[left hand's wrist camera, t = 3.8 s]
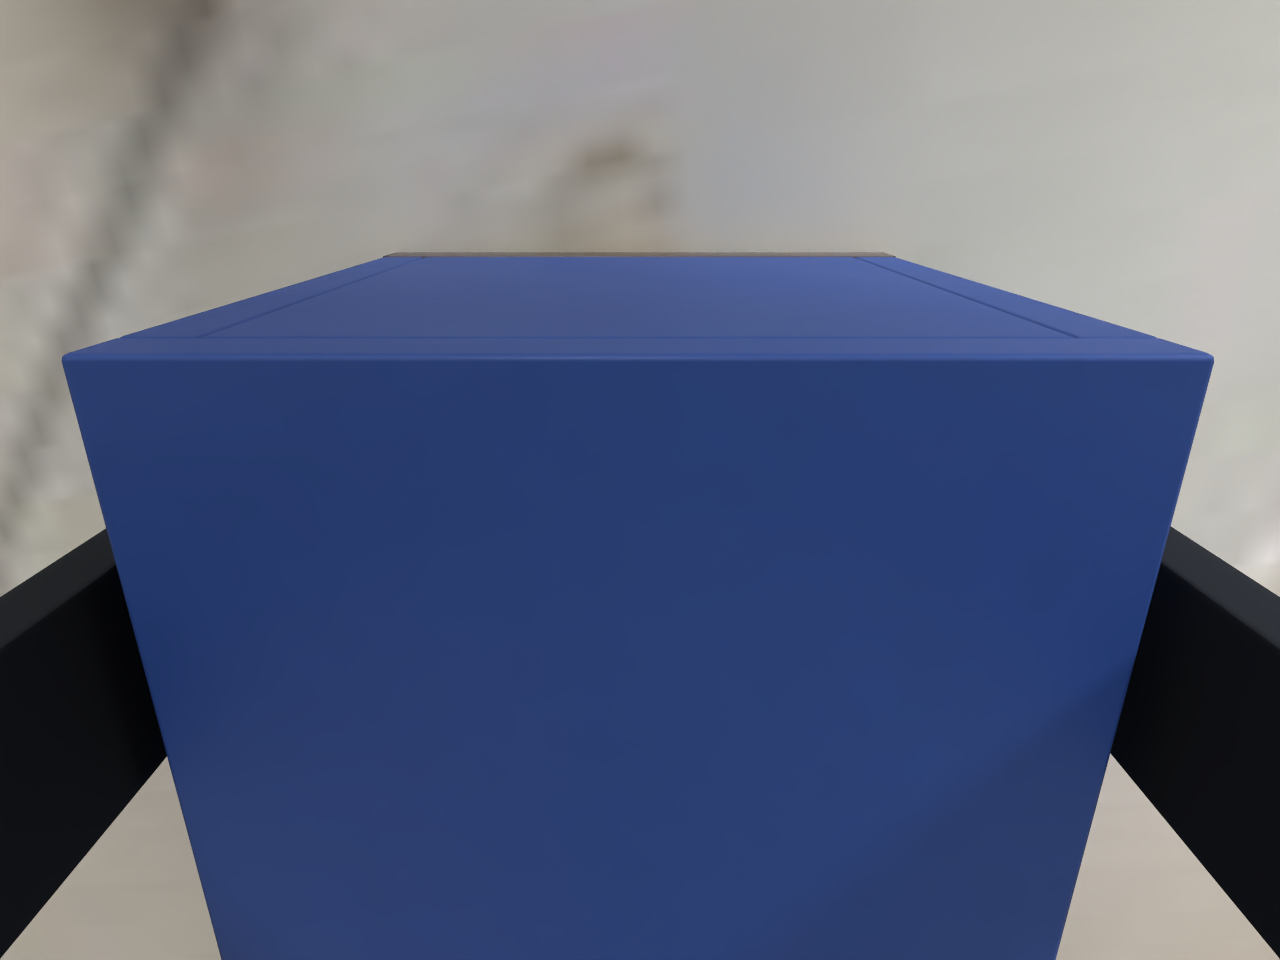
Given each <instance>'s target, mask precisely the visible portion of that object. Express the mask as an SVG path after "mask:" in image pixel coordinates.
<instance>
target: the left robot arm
mask: <svg viewBox="0 0 1280 960" xmlns="http://www.w3.org/2000/svg"><path fill="white" fill-rule="evenodd" d="M1110 753H1111V754H1112V756H1113V757H1114V758H1115V759H1116V760H1117V762H1118V763H1119V764H1120V765H1121V766H1122V768H1123V769H1124V770H1125V771H1126V773H1127V774H1128V775H1129V776H1130V777H1131V779H1132V780H1133V781H1134V782H1135V783H1136V785H1137V786H1138V787H1139V788H1140V790H1141V791H1142V792H1143V793H1144V794H1145V796H1146V797H1147V798H1148V799H1149V800H1150V802H1151V803H1152V804H1153V805H1154V807H1155V808H1156V809H1157V810H1158V811H1159V813H1160V814H1161V815H1162V816H1163V817H1164V819H1165V820H1166V821H1167V822H1168V823H1169V825H1170V826H1171V827H1172V828H1173V830H1174V831H1175V832H1176V833H1177V834H1178V836H1179V837H1180V838H1181V839H1182V840H1183V842H1184V843H1185V844H1186V845H1187V847H1188V848H1189V849H1190V850H1191V851H1192V853H1193V854H1194V855H1195V856H1196V857H1197V859H1198V860H1199V861H1200V862H1201V864H1202V865H1203V866H1204V867H1205V868H1206V870H1207V871H1208V872H1209V873H1210V874H1211V876H1212V877H1213V878H1214V879H1215V881H1216V882H1217V883H1218V884H1219V885H1220V887H1221V888H1222V889H1223V890H1224V891H1225V893H1226V894H1227V895H1228V896H1229V898H1230V899H1231V900H1232V901H1233V902H1234V904H1235V905H1236V906H1237V907H1238V908H1239V910H1240V911H1241V912H1242V913H1243V915H1244V916H1245V917H1246V918H1247V919H1248V921H1249V922H1250V923H1251V924H1252V925H1253V927H1254V928H1255V929H1256V930H1257V932H1258V933H1259V934H1260V935H1261V936H1262V938H1263V939H1264V940H1265V941H1266V942H1267V944H1268V945H1269V946H1270V947H1271V948H1272V950H1273V951H1274V952H1275V953H1276V955H1277V956H1278V957H1279V958H1280V597H1279V596H1277V595H1276V594H1274V593H1272V592H1271V591H1269V590H1268V589H1266V588H1265V587H1263V586H1262V585H1260V584H1259V583H1257V582H1256V581H1254V580H1252V579H1251V578H1249V577H1248V576H1246V575H1245V574H1243V573H1242V572H1240V571H1239V570H1237V569H1235V568H1234V567H1232V566H1231V565H1229V564H1228V563H1226V562H1225V561H1223V560H1222V559H1220V558H1219V557H1217V556H1215V555H1214V554H1212V553H1211V552H1209V551H1208V550H1206V549H1205V548H1203V547H1202V546H1200V545H1199V544H1197V543H1195V542H1194V541H1192V540H1191V539H1189V538H1188V537H1186V536H1185V535H1183V534H1182V533H1180V532H1178V531H1177V530H1175V529H1174V528H1172V527H1171V526H1170V530H1169V533H1168V537H1167V541H1166V545H1165V548H1164V552H1163V556H1162V560H1161V564H1160V567H1159V571H1158V575H1157V579H1156V582H1155V586H1154V590H1153V594H1152V597H1151V601H1150V605H1149V609H1148V613H1147V616H1146V620H1145V624H1144V628H1143V631H1142V635H1141V639H1140V643H1139V646H1138V650H1137V654H1136V658H1135V662H1134V665H1133V669H1132V673H1131V677H1130V680H1129V684H1128V688H1127V692H1126V695H1125V699H1124V703H1123V707H1122V711H1121V714H1120V718H1119V722H1118V726H1117V729H1116V733H1115V737H1114V741H1113V744H1112V748H1111V752H1110ZM166 757H167V753H166V750H165V746H164V742H163V738H162V735H161V731H160V727H159V723H158V720H157V716H156V712H155V708H154V705H153V701H152V697H151V693H150V690H149V686H148V682H147V678H146V675H145V671H144V667H143V664H142V660H141V656H140V652H139V649H138V645H137V641H136V637H135V634H134V630H133V626H132V622H131V619H130V615H129V611H128V607H127V604H126V600H125V596H124V592H123V589H122V585H121V581H120V577H119V574H118V570H117V566H116V562H115V559H114V555H113V551H112V547H111V544H110V540H109V536H108V533H107V529H105V530H103V531H102V532H100V533H98V534H97V535H95V536H94V537H92V538H91V539H89V540H88V541H86V542H85V543H83V544H82V545H80V546H78V547H77V548H75V549H74V550H72V551H71V552H69V553H68V554H66V555H65V556H63V557H61V558H60V559H58V560H57V561H55V562H54V563H52V564H51V565H49V566H48V567H46V568H45V569H43V570H41V571H40V572H38V573H37V574H35V575H34V576H32V577H31V578H29V579H28V580H26V581H25V582H23V583H21V584H20V585H18V586H17V587H15V588H14V589H12V590H11V591H9V592H8V593H6V594H4V595H3V596H1V597H0V958H1V957H2V956H3V955H4V953H5V952H6V951H7V950H8V949H9V947H10V946H11V945H12V944H13V942H14V941H15V940H16V939H17V938H18V936H19V935H20V934H21V933H22V932H23V930H24V929H25V928H26V927H27V925H28V924H29V923H30V922H31V921H32V919H33V918H34V917H35V916H36V915H37V913H38V912H39V911H40V910H41V908H42V907H43V906H44V905H45V904H46V902H47V901H48V900H49V899H50V898H51V896H52V895H53V894H54V893H55V891H56V890H57V889H58V888H59V887H60V885H61V884H62V883H63V882H64V881H65V879H66V878H67V877H68V876H69V874H70V873H71V872H72V871H73V870H74V868H75V867H76V866H77V865H78V864H79V862H80V861H81V860H82V859H83V858H84V856H85V855H86V854H87V853H88V851H89V850H90V849H91V848H92V847H93V845H94V844H95V843H96V842H97V841H98V839H99V838H100V837H101V836H102V834H103V833H104V832H105V831H106V830H107V828H108V827H109V826H110V825H111V824H112V822H113V821H114V820H115V819H116V817H117V816H118V815H119V814H120V813H121V811H122V810H123V809H124V808H125V807H126V805H127V804H128V803H129V802H130V800H131V799H132V798H133V797H134V796H135V794H136V793H137V792H138V791H139V790H140V788H141V787H142V786H143V785H144V783H145V782H146V781H147V780H148V779H149V777H150V776H151V775H152V774H153V773H154V771H155V770H156V769H157V768H158V766H159V765H160V764H161V763H162V762H163V760H164V759H165V758H166Z"/></svg>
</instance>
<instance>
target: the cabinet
mask: <svg viewBox="0 0 1280 960" xmlns="http://www.w3.org/2000/svg"><path fill="white" fill-rule="evenodd" d="M62 364H63V368H64V372H65V375H66V379H67V383H68V387H69V390H70V394H71V398H72V402H73V405H74V409H75V413H76V417H77V420H78V424H79V428H80V431H81V435H82V439H83V443H84V446H85V450H86V454H87V458H88V461H89V465H90V469H91V473H92V476H93V480H94V484H95V488H96V491H97V495H98V499H99V503H100V506H101V510H102V514H103V518H104V521H105V525H106V529H107V533H108V536H109V540H110V544H111V547H112V551H113V555H114V559H115V562H116V566H117V570H118V574H119V577H120V581H121V585H122V589H123V592H124V596H125V600H126V604H127V607H128V611H129V615H130V619H131V622H132V626H133V630H134V634H135V637H136V641H137V645H138V649H139V652H140V656H141V660H142V664H143V667H144V671H145V675H146V678H147V682H148V686H149V690H150V693H151V697H152V701H153V705H154V708H155V712H156V716H157V720H158V723H159V727H160V731H161V735H162V738H163V742H164V746H165V750H166V753H167V757H168V761H169V765H170V768H171V772H172V776H173V780H174V783H175V787H176V791H177V794H178V798H179V802H180V806H181V809H182V813H183V817H184V821H185V824H186V828H187V832H188V836H189V839H190V843H191V847H192V851H193V854H194V858H195V862H196V866H197V869H198V873H199V877H200V881H201V884H202V888H203V892H204V896H205V899H206V903H207V907H208V911H209V914H210V918H211V922H212V925H213V929H214V933H215V937H216V940H217V944H218V948H219V952H220V955H221V959H222V960H1055V959H1056V956H1057V952H1058V948H1059V944H1060V941H1061V937H1062V933H1063V929H1064V925H1065V922H1066V918H1067V914H1068V910H1069V907H1070V903H1071V899H1072V895H1073V892H1074V888H1075V884H1076V880H1077V876H1078V873H1079V869H1080V865H1081V861H1082V858H1083V854H1084V850H1085V846H1086V843H1087V839H1088V835H1089V831H1090V827H1091V824H1092V820H1093V816H1094V812H1095V809H1096V805H1097V801H1098V797H1099V793H1100V790H1101V786H1102V782H1103V778H1104V775H1105V771H1106V767H1107V763H1108V760H1109V756H1110V752H1111V748H1112V744H1113V741H1114V737H1115V733H1116V729H1117V726H1118V722H1119V718H1120V714H1121V711H1122V707H1123V703H1124V699H1125V695H1126V692H1127V688H1128V684H1129V680H1130V677H1131V673H1132V669H1133V665H1134V662H1135V658H1136V654H1137V650H1138V646H1139V643H1140V639H1141V635H1142V631H1143V628H1144V624H1145V620H1146V616H1147V613H1148V609H1149V605H1150V601H1151V597H1152V594H1153V590H1154V586H1155V582H1156V579H1157V575H1158V571H1159V567H1160V564H1161V560H1162V556H1163V552H1164V548H1165V545H1166V541H1167V537H1168V533H1169V530H1170V526H1171V522H1172V518H1173V514H1174V511H1175V507H1176V503H1177V499H1178V496H1179V492H1180V488H1181V484H1182V481H1183V477H1184V473H1185V469H1186V465H1187V462H1188V458H1189V454H1190V450H1191V447H1192V443H1193V439H1194V435H1195V432H1196V428H1197V424H1198V420H1199V416H1200V413H1201V409H1202V405H1203V401H1204V398H1205V394H1206V390H1207V386H1208V383H1209V379H1210V375H1211V371H1212V367H1213V364H1214V357H1213V356H1212V355H1210V354H1208V353H1205V352H1202V351H1199V350H1195V349H1192V348H1189V347H1186V346H1182V345H1179V344H1176V343H1172V342H1169V341H1166V340H1163V339H1157V338H1156V337H1154V336H1151V335H1147V334H1144V333H1141V332H1138V331H1134V330H1131V329H1128V328H1124V327H1121V326H1118V325H1115V324H1111V323H1108V322H1105V321H1102V320H1098V319H1095V318H1092V317H1088V316H1085V315H1082V314H1079V313H1075V312H1072V311H1069V310H1065V309H1062V308H1059V307H1056V306H1052V305H1049V304H1046V303H1043V302H1039V301H1036V300H1033V299H1029V298H1026V297H1023V296H1020V295H1016V294H1013V293H1010V292H1006V291H1003V290H1000V289H997V288H993V287H990V286H987V285H983V284H980V283H977V282H974V281H970V280H967V279H964V278H961V277H957V276H954V275H951V274H947V273H944V272H941V271H938V270H934V269H931V268H928V267H924V266H921V265H918V264H915V263H911V262H908V261H905V260H902V259H898V258H896V257H895V256H893V255H889V254H886V253H393V254H389V255H386V256H383V258H380V259H377V260H374V261H371V262H367V263H364V264H361V265H357V266H354V267H351V268H347V269H344V270H341V271H337V272H334V273H331V274H328V275H324V276H321V277H318V278H314V279H311V280H308V281H304V282H301V283H298V284H294V285H291V286H288V287H284V288H281V289H278V290H275V291H271V292H268V293H265V294H261V295H258V296H255V297H251V298H248V299H245V300H241V301H238V302H235V303H231V304H228V305H225V306H222V307H218V308H215V309H212V310H208V311H205V312H202V313H198V314H195V315H192V316H188V317H185V318H182V319H178V320H175V321H172V322H169V323H165V324H162V325H159V326H155V327H152V328H149V329H145V330H142V331H139V332H135V333H132V334H129V335H125V336H123V337H121V338H116V339H113V340H110V341H107V342H103V343H100V344H97V345H93V346H90V347H87V348H83V349H80V350H77V351H73V352H70V353H68V354H65V355H64V356H63V357H62Z"/></svg>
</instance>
